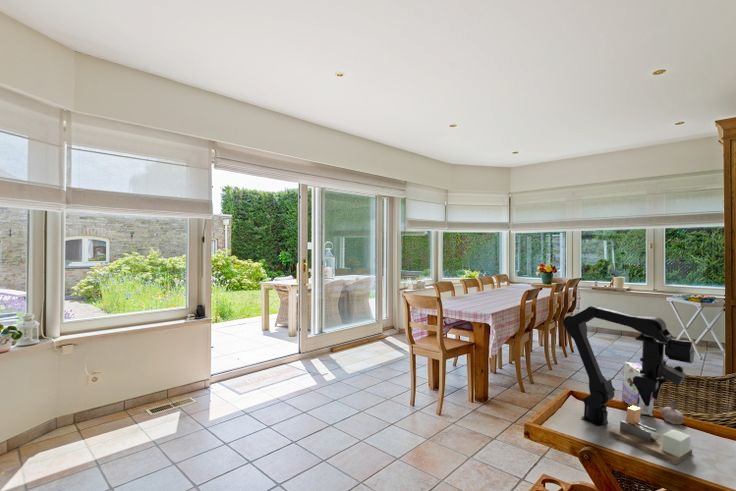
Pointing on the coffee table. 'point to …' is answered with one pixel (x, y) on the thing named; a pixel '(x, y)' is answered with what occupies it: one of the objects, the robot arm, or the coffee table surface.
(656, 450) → the base board
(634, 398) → the candy box
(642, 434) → the channel
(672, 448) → the socket block
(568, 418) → the coffee table surface
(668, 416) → the garlic bulb
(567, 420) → the coffee table surface
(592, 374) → the robot arm
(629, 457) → the coffee table surface
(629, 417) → the slip rod
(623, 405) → the coffee table surface
